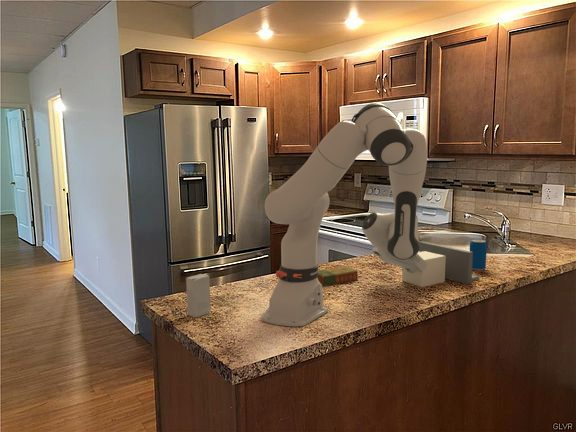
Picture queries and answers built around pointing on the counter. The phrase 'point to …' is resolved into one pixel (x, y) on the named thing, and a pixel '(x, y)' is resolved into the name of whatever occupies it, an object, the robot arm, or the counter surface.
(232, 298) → the counter surface
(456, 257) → the grey stand
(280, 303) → the robot arm
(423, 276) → the block
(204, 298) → the skincare box
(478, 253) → the beverage can
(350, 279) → the carton
